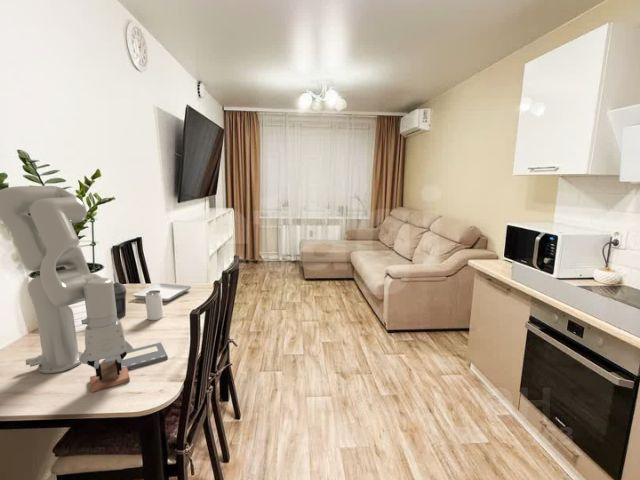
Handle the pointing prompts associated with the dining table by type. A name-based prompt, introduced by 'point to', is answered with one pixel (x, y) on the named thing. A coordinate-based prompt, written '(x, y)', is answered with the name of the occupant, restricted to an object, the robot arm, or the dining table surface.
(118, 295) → the beverage cup
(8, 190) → the robot arm
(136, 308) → the dining table surface
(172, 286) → the salad plate
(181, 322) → the dining table surface
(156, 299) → the can
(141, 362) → the board
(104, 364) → the wooden t-shaped block
